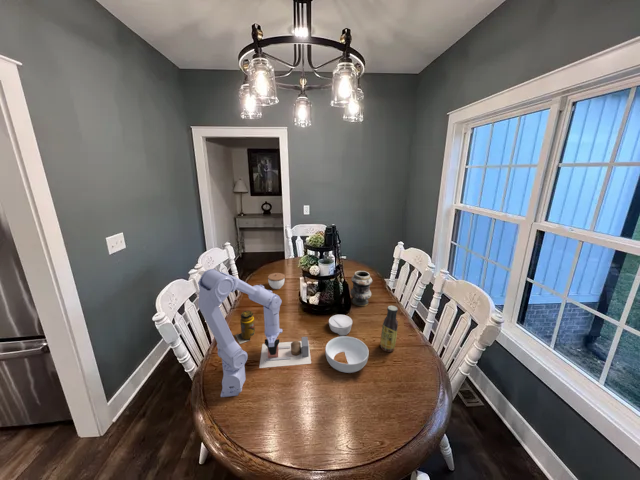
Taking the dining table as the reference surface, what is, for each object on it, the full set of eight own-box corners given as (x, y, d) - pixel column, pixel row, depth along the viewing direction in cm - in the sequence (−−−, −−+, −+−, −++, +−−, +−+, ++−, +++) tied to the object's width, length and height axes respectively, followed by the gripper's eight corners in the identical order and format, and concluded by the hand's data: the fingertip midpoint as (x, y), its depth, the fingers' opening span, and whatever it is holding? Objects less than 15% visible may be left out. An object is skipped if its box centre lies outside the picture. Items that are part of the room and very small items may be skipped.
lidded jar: (266, 285, 170) (265, 272, 168) (282, 282, 175) (281, 269, 172) (270, 292, 161) (270, 278, 159) (287, 288, 166) (286, 275, 163)
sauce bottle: (377, 347, 112) (380, 306, 107) (385, 341, 116) (389, 301, 111) (389, 355, 108) (393, 313, 102) (398, 348, 112) (402, 308, 106)
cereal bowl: (373, 358, 106) (374, 344, 104) (358, 387, 92) (359, 371, 90) (336, 344, 114) (337, 330, 112) (317, 369, 100) (317, 353, 98)
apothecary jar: (371, 308, 143) (373, 278, 139) (349, 306, 145) (350, 277, 140) (370, 297, 155) (372, 270, 150) (350, 296, 157) (351, 268, 152)
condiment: (258, 337, 118) (256, 314, 115) (239, 344, 114) (237, 320, 110) (252, 329, 124) (251, 307, 121) (235, 335, 120) (232, 312, 116)
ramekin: (324, 333, 122) (324, 323, 120) (334, 321, 131) (334, 312, 130) (346, 340, 117) (347, 330, 115) (355, 327, 126) (355, 317, 125)
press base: (311, 366, 101) (311, 352, 99) (259, 371, 99) (258, 357, 97) (308, 343, 115) (308, 330, 113) (262, 346, 112) (261, 333, 110)
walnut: (301, 355, 105) (300, 347, 104) (291, 356, 105) (291, 347, 104) (300, 348, 109) (300, 340, 108) (291, 349, 108) (290, 341, 107)
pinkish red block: (278, 357, 104) (277, 344, 102) (268, 357, 103) (267, 345, 102) (278, 350, 108) (277, 337, 106) (268, 351, 107) (268, 338, 106)
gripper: (281, 331, 95) (282, 362, 99) (282, 310, 109) (283, 338, 113) (262, 333, 94) (264, 363, 98) (265, 311, 108) (266, 339, 112)
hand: (273, 350), depth 105 cm, fingers closed on pinkish red block, 4 cm apart
